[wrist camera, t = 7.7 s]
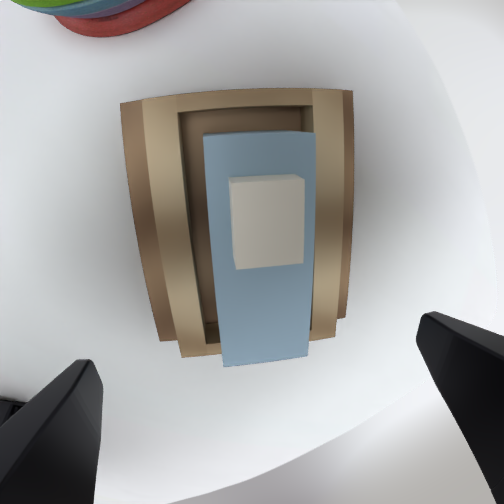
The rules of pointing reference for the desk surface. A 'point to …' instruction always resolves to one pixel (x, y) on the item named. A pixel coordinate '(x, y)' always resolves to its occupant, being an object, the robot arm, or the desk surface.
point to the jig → (196, 209)
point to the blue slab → (262, 241)
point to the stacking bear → (104, 14)
